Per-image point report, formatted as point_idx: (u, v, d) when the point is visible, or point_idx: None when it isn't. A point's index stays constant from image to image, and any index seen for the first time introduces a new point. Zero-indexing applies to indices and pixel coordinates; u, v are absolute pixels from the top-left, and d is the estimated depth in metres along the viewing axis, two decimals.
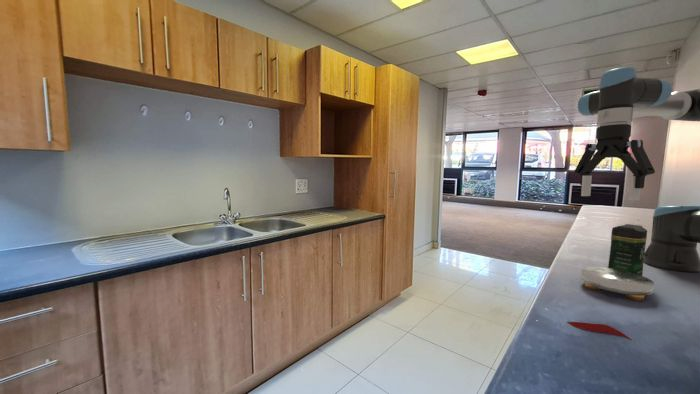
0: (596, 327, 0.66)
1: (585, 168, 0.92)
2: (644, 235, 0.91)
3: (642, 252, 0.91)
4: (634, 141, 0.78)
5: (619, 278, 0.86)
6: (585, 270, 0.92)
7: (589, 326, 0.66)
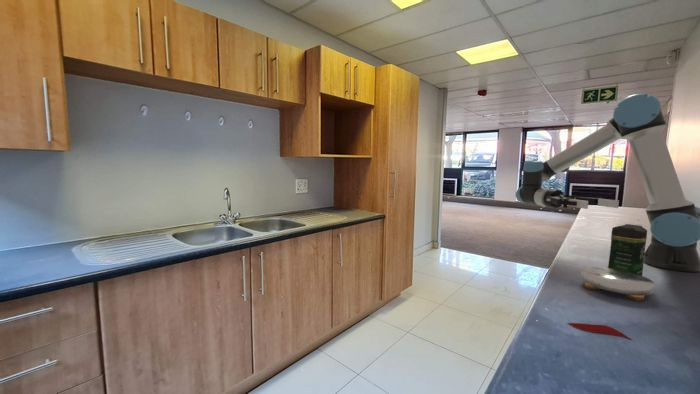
0: (596, 328, 0.66)
1: (591, 204, 1.12)
2: (644, 235, 0.91)
3: (642, 252, 0.91)
4: (547, 202, 1.17)
5: (619, 278, 0.86)
6: (585, 270, 0.92)
7: (589, 327, 0.66)
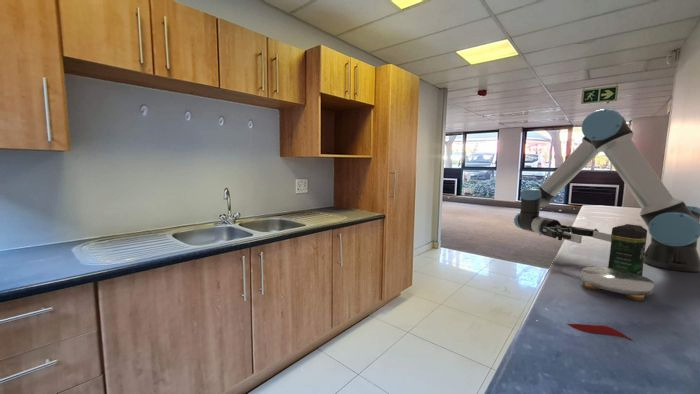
0: (597, 328, 0.65)
1: (587, 235, 1.14)
2: (644, 235, 0.91)
3: (642, 252, 0.91)
4: (543, 232, 1.19)
5: (619, 278, 0.86)
6: (585, 270, 0.92)
7: (590, 328, 0.66)
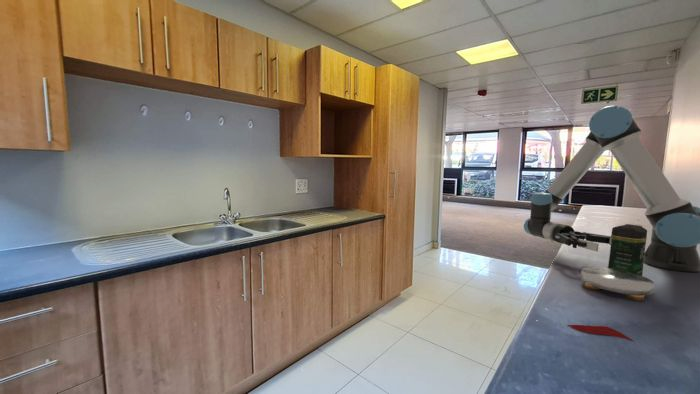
0: (597, 329, 0.65)
1: (603, 242, 1.08)
2: (644, 235, 0.91)
3: (642, 252, 0.91)
4: (556, 239, 1.13)
5: (619, 278, 0.86)
6: (585, 270, 0.92)
7: (590, 329, 0.65)
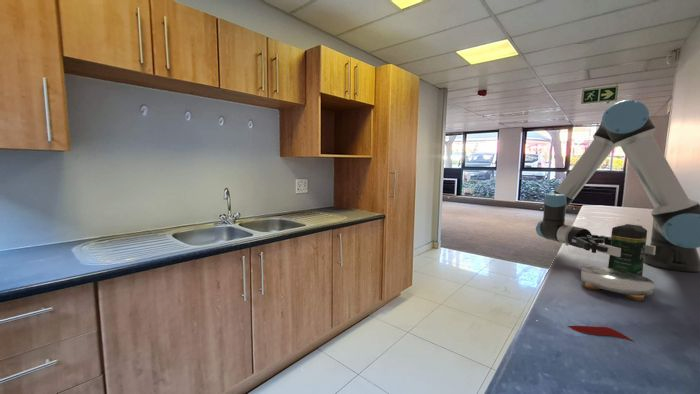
0: (598, 330, 0.65)
1: None
2: (644, 235, 0.91)
3: (642, 252, 0.91)
4: (572, 243, 1.07)
5: (619, 278, 0.86)
6: (585, 270, 0.92)
7: (591, 329, 0.65)
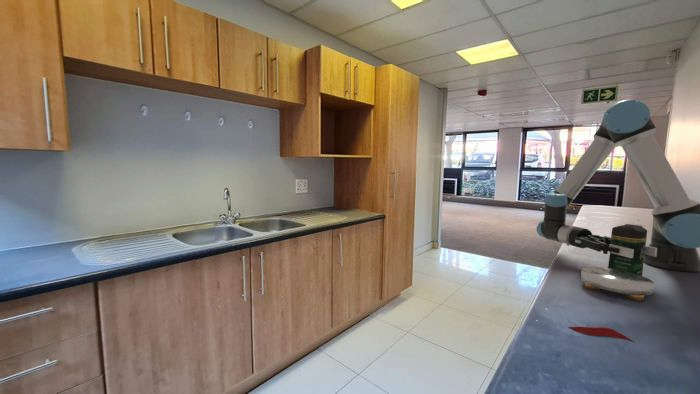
0: (598, 331, 0.64)
1: None
2: (644, 235, 0.91)
3: (642, 252, 0.91)
4: (576, 244, 1.05)
5: (619, 278, 0.86)
6: (585, 270, 0.92)
7: (592, 330, 0.65)
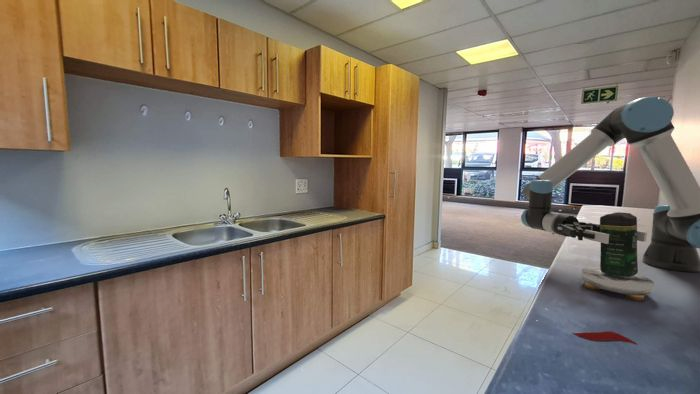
0: (603, 335, 0.63)
1: None
2: (634, 222, 0.84)
3: (634, 241, 0.84)
4: (558, 231, 0.99)
5: (619, 278, 0.86)
6: (585, 270, 0.92)
7: (597, 335, 0.63)
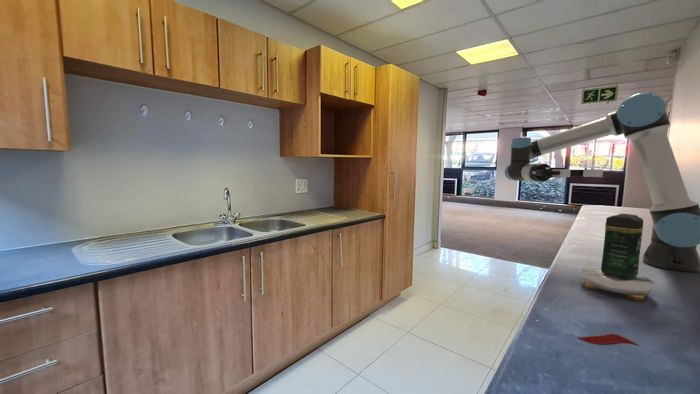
0: (606, 338, 0.62)
1: None
2: (641, 225, 0.83)
3: (639, 243, 0.84)
4: (533, 175, 1.16)
5: (619, 278, 0.86)
6: (585, 270, 0.92)
7: (601, 339, 0.61)
